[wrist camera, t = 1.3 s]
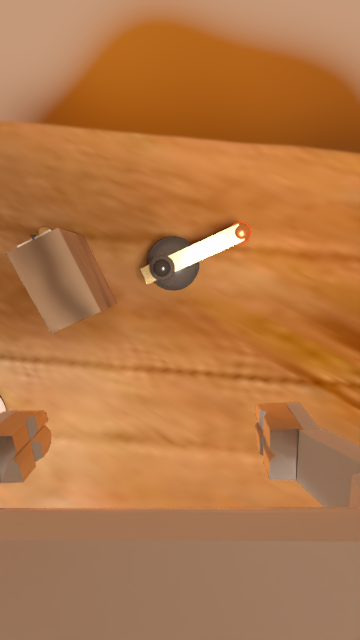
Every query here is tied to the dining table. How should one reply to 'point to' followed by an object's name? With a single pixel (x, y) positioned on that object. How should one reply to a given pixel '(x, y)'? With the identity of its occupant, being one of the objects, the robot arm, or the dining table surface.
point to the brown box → (61, 277)
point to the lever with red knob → (188, 256)
